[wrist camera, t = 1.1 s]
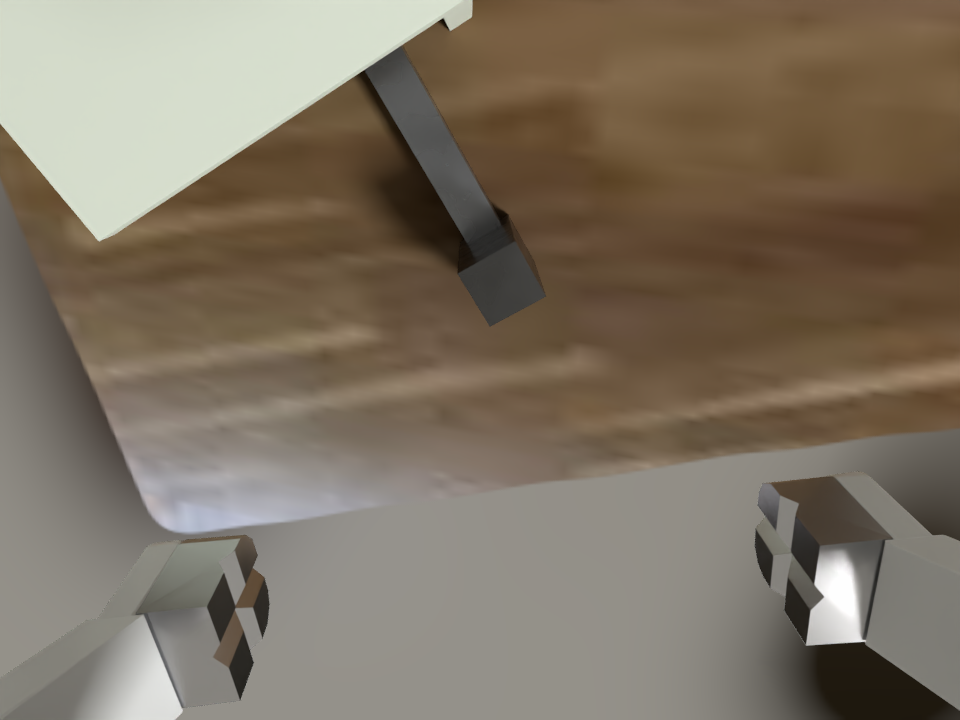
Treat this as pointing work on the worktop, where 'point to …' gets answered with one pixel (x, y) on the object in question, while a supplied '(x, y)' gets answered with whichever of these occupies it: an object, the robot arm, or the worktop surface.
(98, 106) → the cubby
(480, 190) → the hook tool
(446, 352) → the worktop surface
